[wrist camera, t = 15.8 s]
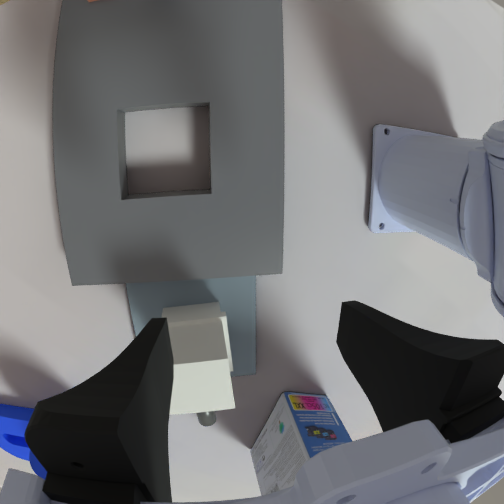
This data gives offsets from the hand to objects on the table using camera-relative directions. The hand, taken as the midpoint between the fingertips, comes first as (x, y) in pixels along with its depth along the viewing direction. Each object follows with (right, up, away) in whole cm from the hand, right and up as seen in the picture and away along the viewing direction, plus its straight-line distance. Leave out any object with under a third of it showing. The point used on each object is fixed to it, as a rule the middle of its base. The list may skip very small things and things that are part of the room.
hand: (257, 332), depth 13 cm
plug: (-4, -3, +10) cm, 12 cm away
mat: (-4, -3, +11) cm, 12 cm away
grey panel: (-6, +12, +5) cm, 15 cm away
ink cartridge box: (+3, -14, +17) cm, 22 cm away
